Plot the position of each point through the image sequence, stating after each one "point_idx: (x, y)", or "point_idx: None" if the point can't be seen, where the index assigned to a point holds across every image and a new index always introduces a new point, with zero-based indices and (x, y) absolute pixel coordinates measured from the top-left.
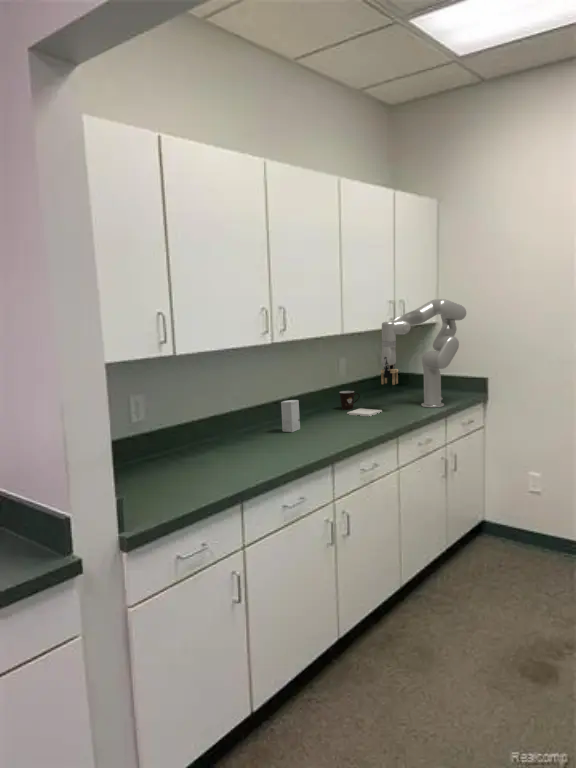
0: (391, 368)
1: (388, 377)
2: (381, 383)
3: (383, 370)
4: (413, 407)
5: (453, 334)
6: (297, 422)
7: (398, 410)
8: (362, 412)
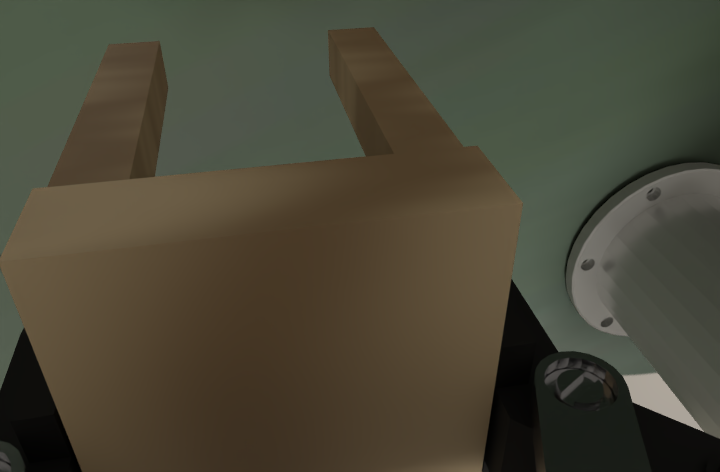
0: (504, 452)
1: None
2: (107, 55)
3: (47, 367)
4: (562, 136)
5: None
6: None
7: None
8: None
